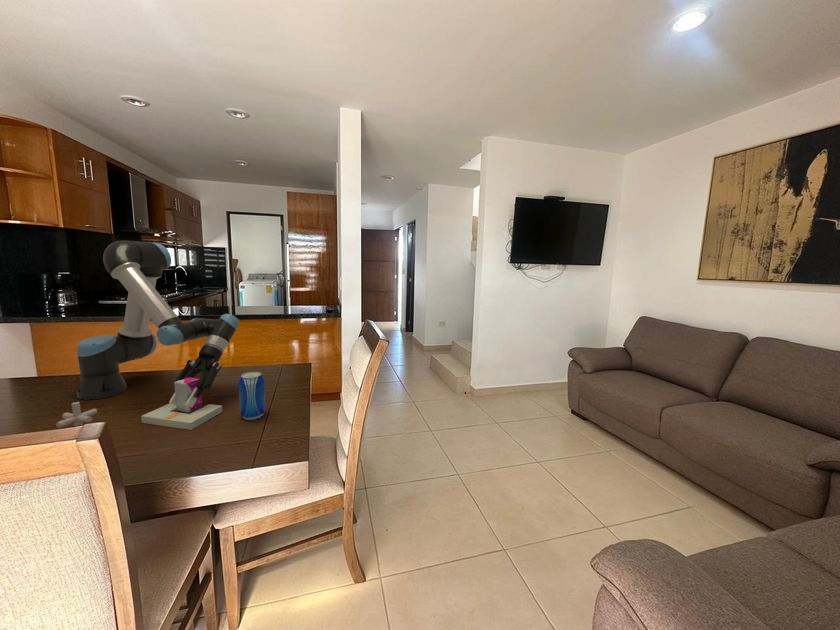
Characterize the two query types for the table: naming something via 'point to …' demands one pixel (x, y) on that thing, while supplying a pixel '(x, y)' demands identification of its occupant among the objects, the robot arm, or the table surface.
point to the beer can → (251, 395)
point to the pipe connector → (76, 416)
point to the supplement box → (186, 395)
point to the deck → (181, 416)
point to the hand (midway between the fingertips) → (180, 404)
